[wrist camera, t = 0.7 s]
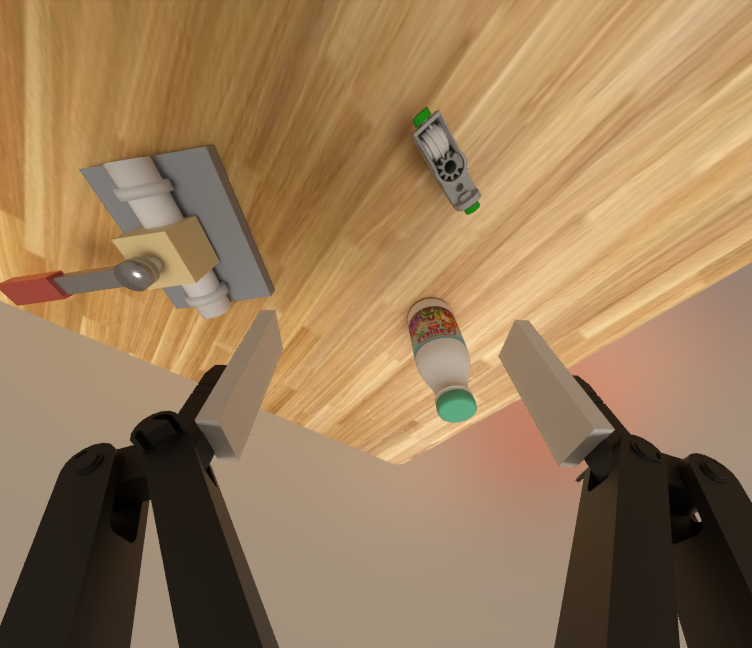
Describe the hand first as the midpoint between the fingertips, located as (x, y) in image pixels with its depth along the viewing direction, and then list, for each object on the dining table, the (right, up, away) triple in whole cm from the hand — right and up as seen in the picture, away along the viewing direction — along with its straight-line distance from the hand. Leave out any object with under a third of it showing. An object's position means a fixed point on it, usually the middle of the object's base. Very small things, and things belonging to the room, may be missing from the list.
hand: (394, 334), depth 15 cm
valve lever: (-34, +6, +15) cm, 37 cm away
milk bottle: (+8, +2, +32) cm, 34 cm away
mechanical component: (+6, +21, +18) cm, 29 cm away
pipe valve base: (-27, +13, +24) cm, 38 cm away
